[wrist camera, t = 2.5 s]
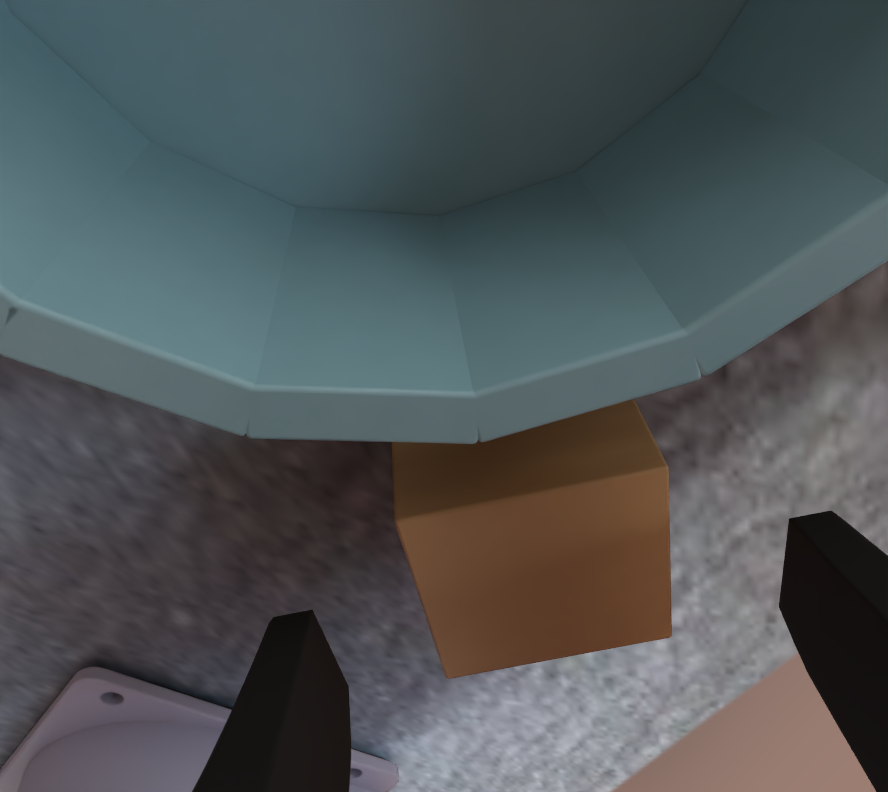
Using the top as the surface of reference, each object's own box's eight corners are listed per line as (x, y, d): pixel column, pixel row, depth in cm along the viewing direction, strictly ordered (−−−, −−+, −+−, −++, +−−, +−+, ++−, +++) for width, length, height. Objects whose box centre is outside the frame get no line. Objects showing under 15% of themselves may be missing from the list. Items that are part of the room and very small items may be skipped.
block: (598, 326, 14) (669, 467, 10) (611, 482, 16) (672, 638, 13) (388, 369, 14) (393, 521, 11) (431, 518, 16) (445, 680, 13)
